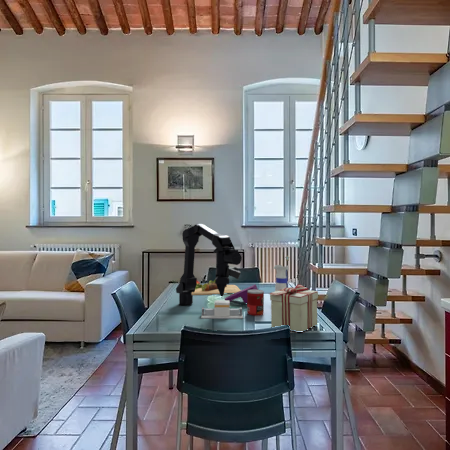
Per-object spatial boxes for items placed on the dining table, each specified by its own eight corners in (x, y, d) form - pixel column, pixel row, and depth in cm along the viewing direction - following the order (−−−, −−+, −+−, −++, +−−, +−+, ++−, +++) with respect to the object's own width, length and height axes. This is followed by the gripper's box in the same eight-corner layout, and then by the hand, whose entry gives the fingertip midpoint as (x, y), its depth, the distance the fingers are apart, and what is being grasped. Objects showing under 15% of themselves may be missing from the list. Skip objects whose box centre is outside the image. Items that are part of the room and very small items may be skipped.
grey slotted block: (214, 316, 178) (214, 303, 178) (214, 312, 184) (214, 300, 184) (229, 316, 178) (229, 303, 178) (229, 313, 184) (229, 300, 184)
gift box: (280, 318, 177) (280, 281, 176) (318, 325, 166) (319, 285, 166) (261, 327, 163) (262, 286, 162) (302, 335, 152) (303, 292, 152)
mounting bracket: (228, 314, 206) (259, 302, 202) (222, 300, 207) (252, 287, 203) (233, 310, 215) (262, 298, 211) (226, 296, 216) (255, 284, 212)
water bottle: (276, 298, 220) (277, 254, 220) (291, 299, 216) (291, 255, 215) (271, 300, 213) (271, 255, 213) (285, 302, 209) (286, 256, 208)
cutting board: (183, 296, 226) (183, 283, 226) (182, 288, 250) (182, 277, 249) (242, 295, 232) (242, 282, 232) (235, 287, 255) (235, 276, 255)
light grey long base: (201, 318, 177) (201, 310, 176) (202, 313, 186) (202, 305, 185) (242, 318, 177) (242, 310, 177) (241, 313, 186) (241, 305, 186)
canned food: (259, 316, 180) (259, 293, 180) (244, 314, 184) (244, 291, 184) (266, 313, 187) (266, 290, 186) (251, 311, 191) (251, 288, 191)
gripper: (240, 265, 171) (240, 300, 172) (238, 260, 190) (238, 292, 190) (215, 265, 171) (215, 300, 172) (215, 260, 190) (215, 292, 190)
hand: (222, 296), depth 181 cm, fingers closed
